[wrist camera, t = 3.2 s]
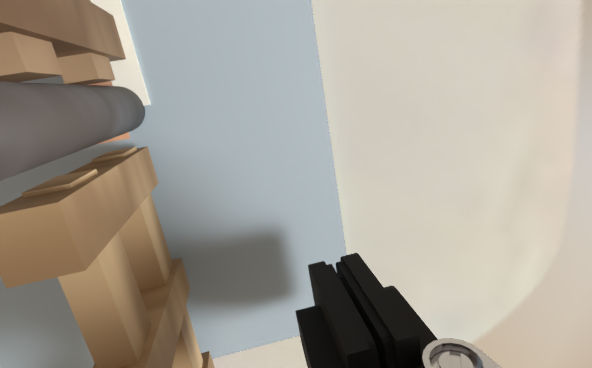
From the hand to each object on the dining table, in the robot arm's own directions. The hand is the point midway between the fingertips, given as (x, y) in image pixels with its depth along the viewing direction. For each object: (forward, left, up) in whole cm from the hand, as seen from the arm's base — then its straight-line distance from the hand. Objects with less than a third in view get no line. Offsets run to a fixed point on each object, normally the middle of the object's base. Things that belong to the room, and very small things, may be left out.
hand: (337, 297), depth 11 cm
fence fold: (-1, -5, -2) cm, 6 cm away
